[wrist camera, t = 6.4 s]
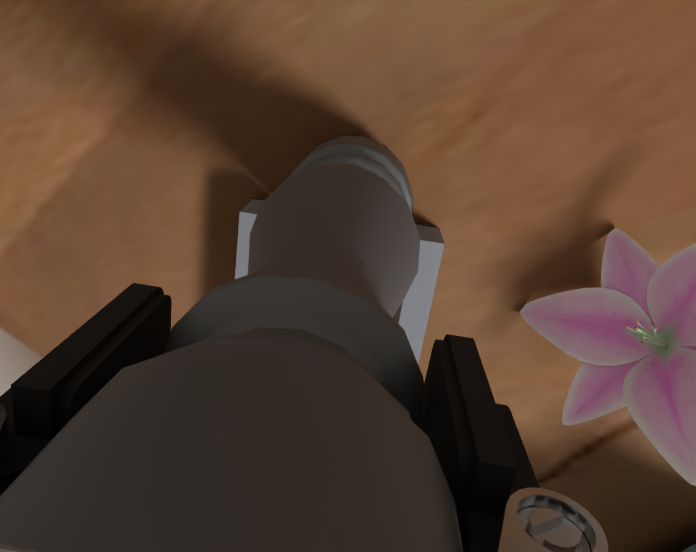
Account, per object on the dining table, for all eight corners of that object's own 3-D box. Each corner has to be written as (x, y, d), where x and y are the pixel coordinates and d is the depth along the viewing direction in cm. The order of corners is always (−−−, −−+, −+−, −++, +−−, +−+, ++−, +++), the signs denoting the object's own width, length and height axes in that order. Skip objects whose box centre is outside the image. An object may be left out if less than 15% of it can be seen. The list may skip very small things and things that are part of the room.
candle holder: (401, 124, 27) (503, 483, 3) (418, 242, 29) (555, 983, 5) (281, 146, 27) (-344, 561, 4) (306, 259, 29) (-10, 969, 6)
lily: (730, 184, 29) (756, 175, 21) (821, 391, 28) (886, 466, 20) (520, 262, 35) (476, 277, 27) (588, 433, 34) (564, 504, 26)
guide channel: (253, 198, 30) (228, 221, 25) (438, 227, 30) (449, 256, 25) (232, 456, 36) (209, 513, 32) (384, 481, 36) (385, 541, 32)
